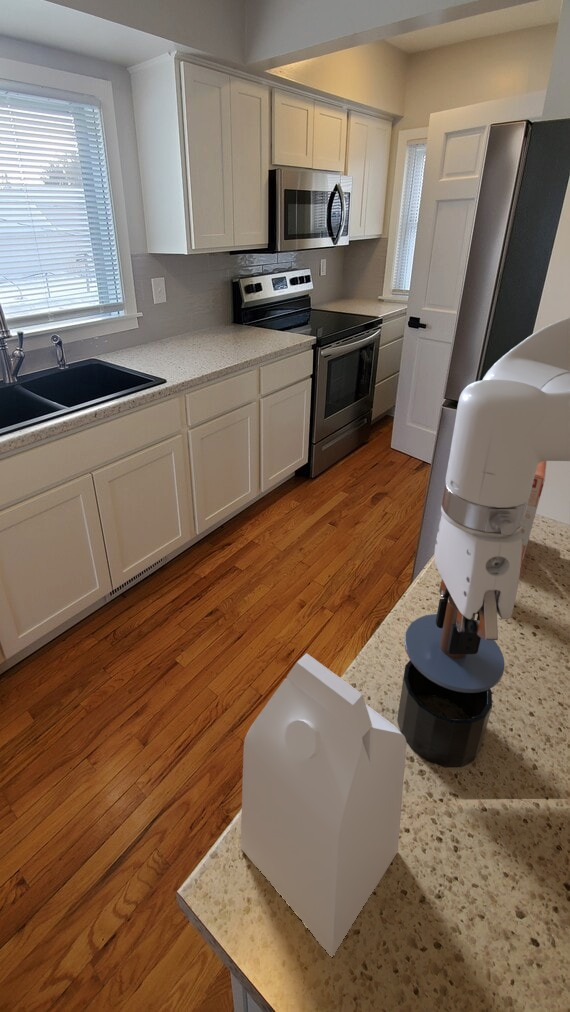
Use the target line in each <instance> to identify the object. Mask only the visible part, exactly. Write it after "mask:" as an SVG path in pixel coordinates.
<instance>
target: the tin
mask: <svg viewBox="0 0 570 1012" xmlns="http://www.w3.org/2000/svg"><path fill="white" fill-rule="evenodd" d="M491 689H492V688H491ZM491 689H489V690H486V691H483V692H478V693H464V692H457V691H454V690H450V689H447V688H445V687H442V686H440V685H438V684H436V683H434V682H433V681H431V680H429V679H428V678H427V677H425V676H424V675H423V674H422V673H421V672H419V670H418V669H417V668H416V667H415V666H414V665H413V663H412V662H411V660H410V659H409V661H407V663H406V664H405V666H404V671H403V678H402V684H401V691H400V699H399V706H398V712H397V718H396V720H397V724H398V728H399V731H400V732H401V733H402V734H403V735H404V736H405V738H406V745H408V746H409V748H410V749H411V751H413V752H414V753H415V754H416V755H418V756H419V757H421V758H422V759H423V760H424V761H426V762H428V763H430V764H433V765H436V766H438V767H441V768H445V769H446V768H448V769H449V768H451V769H452V768H456V769H458V768H459V769H460V768H463V767H465V766H467V765H470V763H473V762H474V761H475V760H476V758H477V757H478V755H479V753H480V752H481V750H482V746H483V742H484V738H485V735H486V731H487V727H488V724H489V719H490V716H491V712H492V708H493V691H492V690H491ZM418 697H436V698H439V699H443V700H445V701H448V702H449V703H451V704H452V705H454V706H455V707H457V708H459V710H461V711H462V713H463V714H464V715H465V716H466V717H467V719H452V718H449V717H446V716H443V715H442V714H441V715H440V714H437V713H436V712H435V711H433V710H431V709H430V708H429V707H427V706H426V705H424V704H422V702H421V701H420V699H419V698H418Z"/></svg>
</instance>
